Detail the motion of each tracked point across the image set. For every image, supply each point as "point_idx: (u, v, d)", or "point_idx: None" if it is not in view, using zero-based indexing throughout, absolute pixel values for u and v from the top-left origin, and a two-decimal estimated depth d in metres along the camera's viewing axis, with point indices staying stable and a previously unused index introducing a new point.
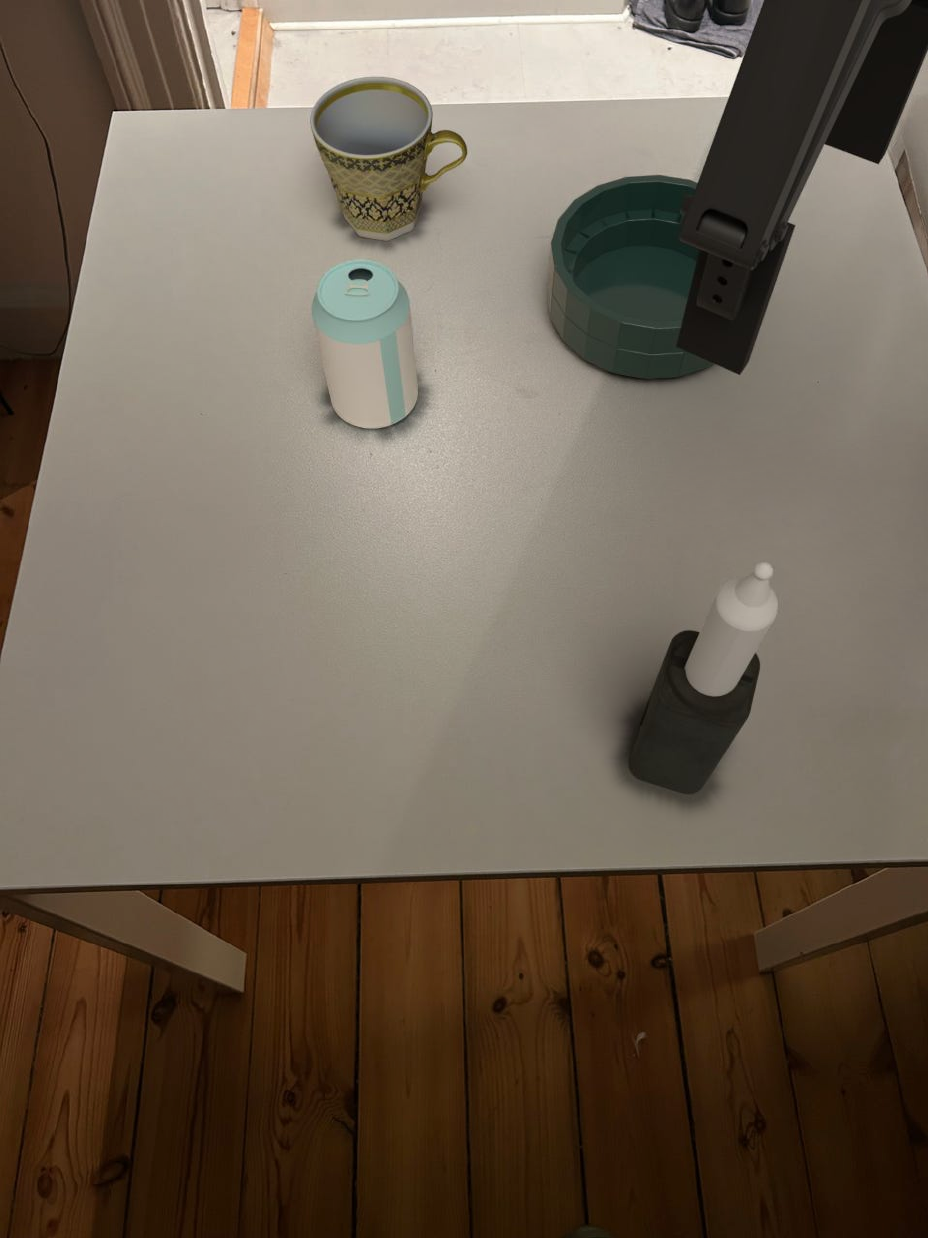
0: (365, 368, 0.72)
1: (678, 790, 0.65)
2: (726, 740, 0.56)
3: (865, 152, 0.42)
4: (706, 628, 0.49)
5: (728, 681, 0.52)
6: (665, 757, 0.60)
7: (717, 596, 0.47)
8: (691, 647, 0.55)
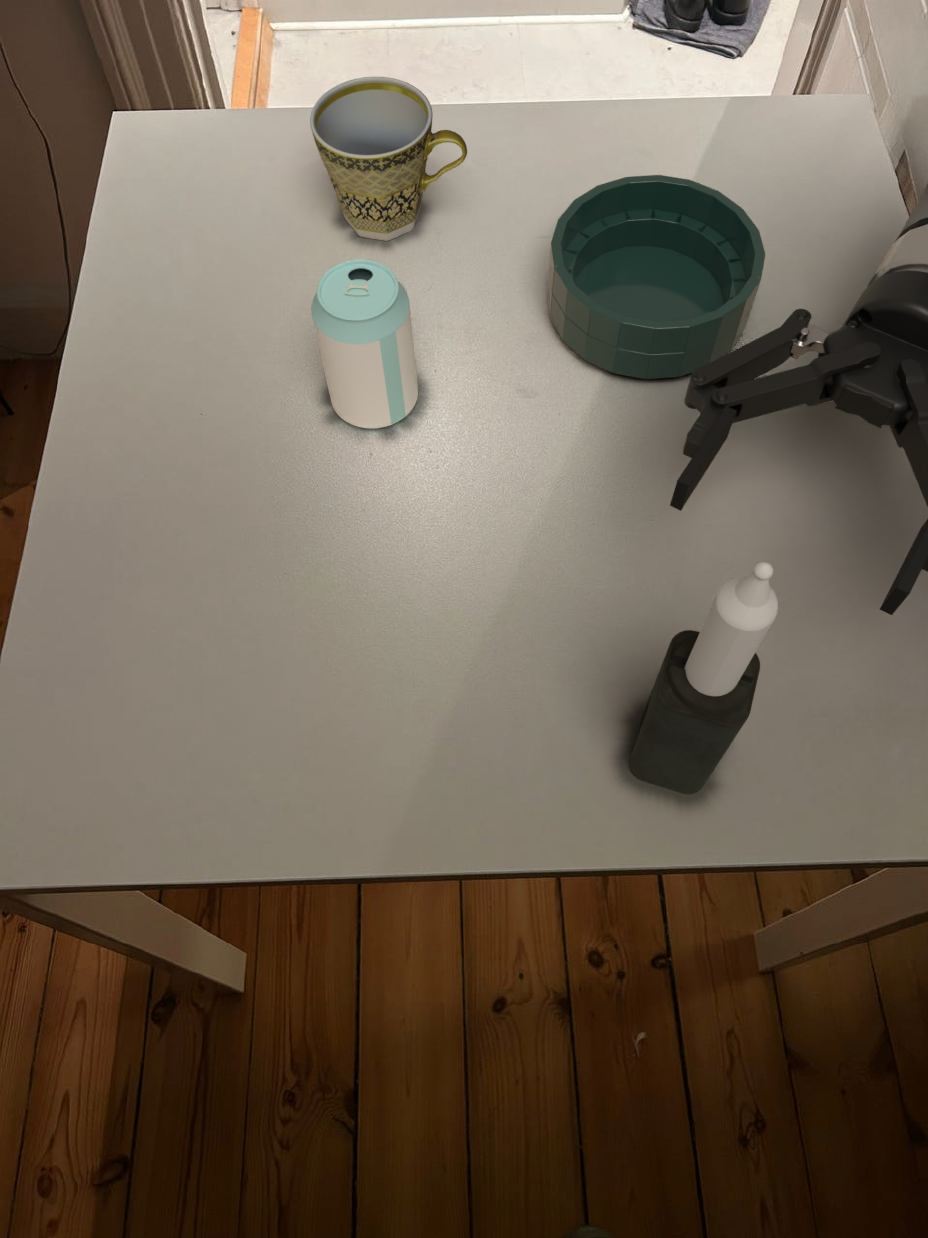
0: (365, 368, 0.72)
1: (678, 790, 0.65)
2: (726, 740, 0.56)
3: (894, 589, 0.56)
4: (706, 628, 0.49)
5: (728, 681, 0.52)
6: (665, 757, 0.60)
7: (717, 596, 0.47)
8: (691, 647, 0.55)
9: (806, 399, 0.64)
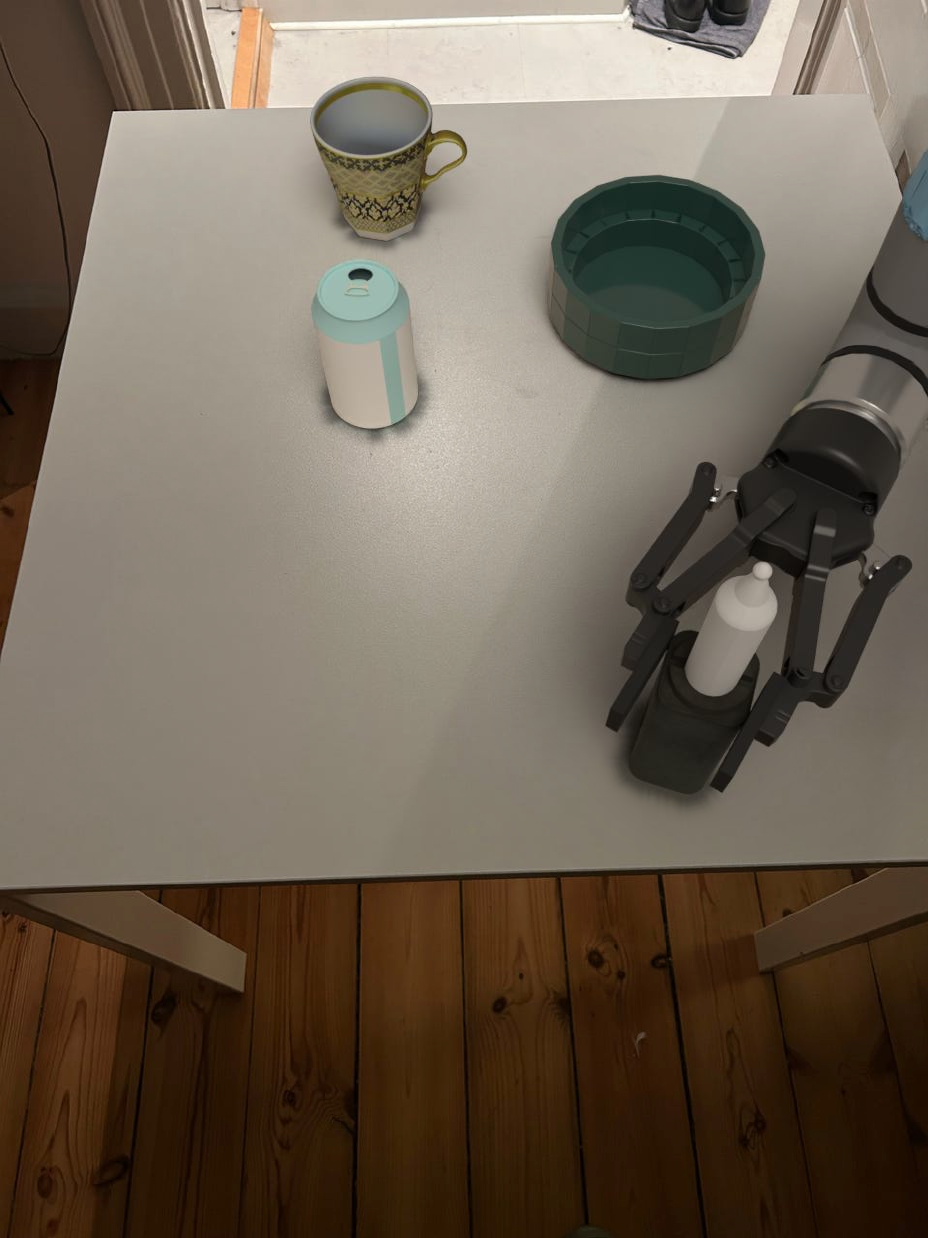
0: (365, 368, 0.72)
1: (678, 790, 0.65)
2: (726, 740, 0.56)
3: (719, 769, 0.51)
4: (705, 628, 0.49)
5: (727, 681, 0.52)
6: (665, 757, 0.60)
7: (716, 596, 0.47)
8: (691, 647, 0.55)
9: (738, 564, 0.58)
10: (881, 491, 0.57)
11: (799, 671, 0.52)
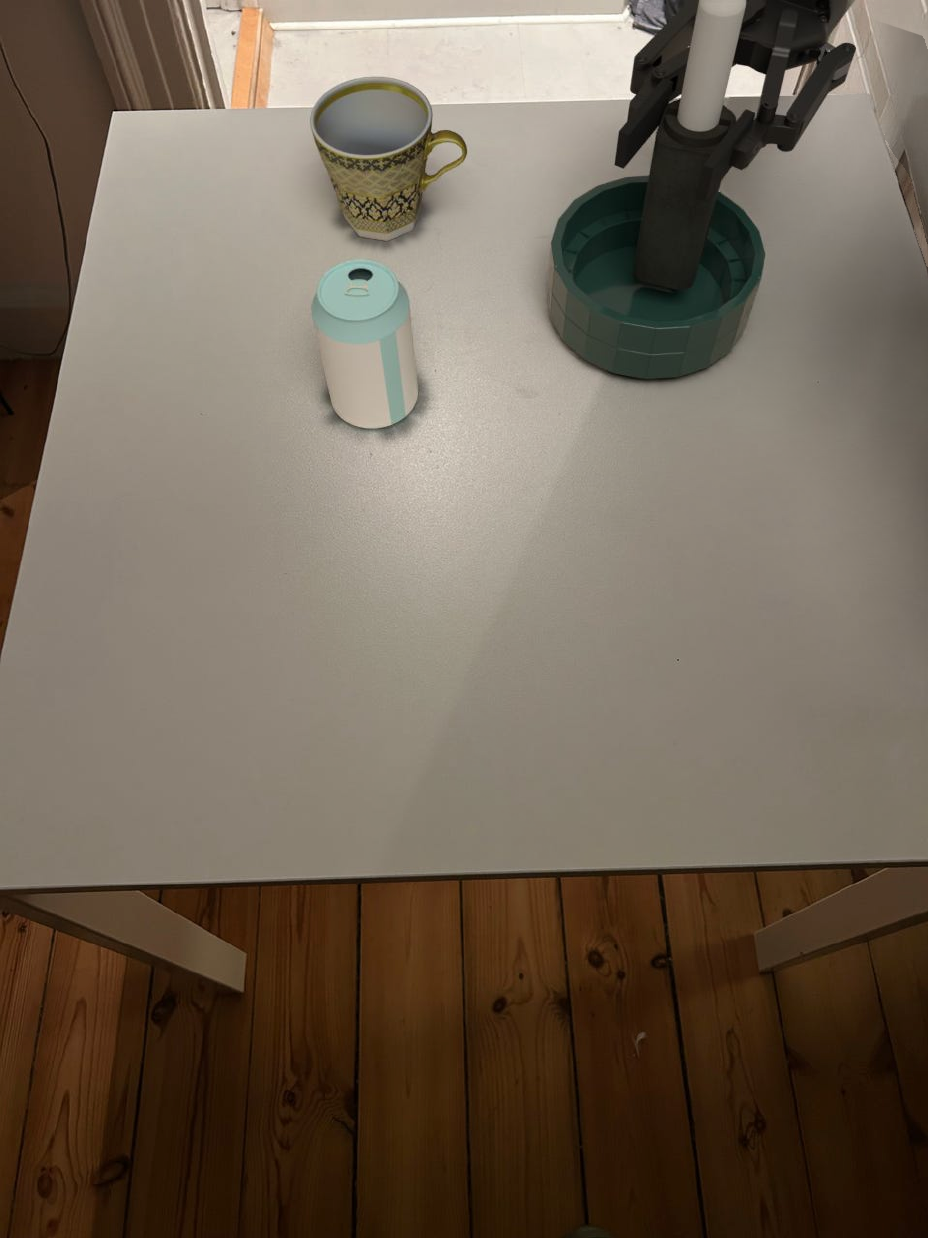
0: (365, 368, 0.72)
1: (672, 285, 0.80)
2: None
3: (703, 170, 0.67)
4: (692, 40, 0.64)
5: (709, 104, 0.67)
6: (662, 230, 0.75)
7: None
8: None
9: None
10: (833, 0, 0.73)
11: (765, 104, 0.68)
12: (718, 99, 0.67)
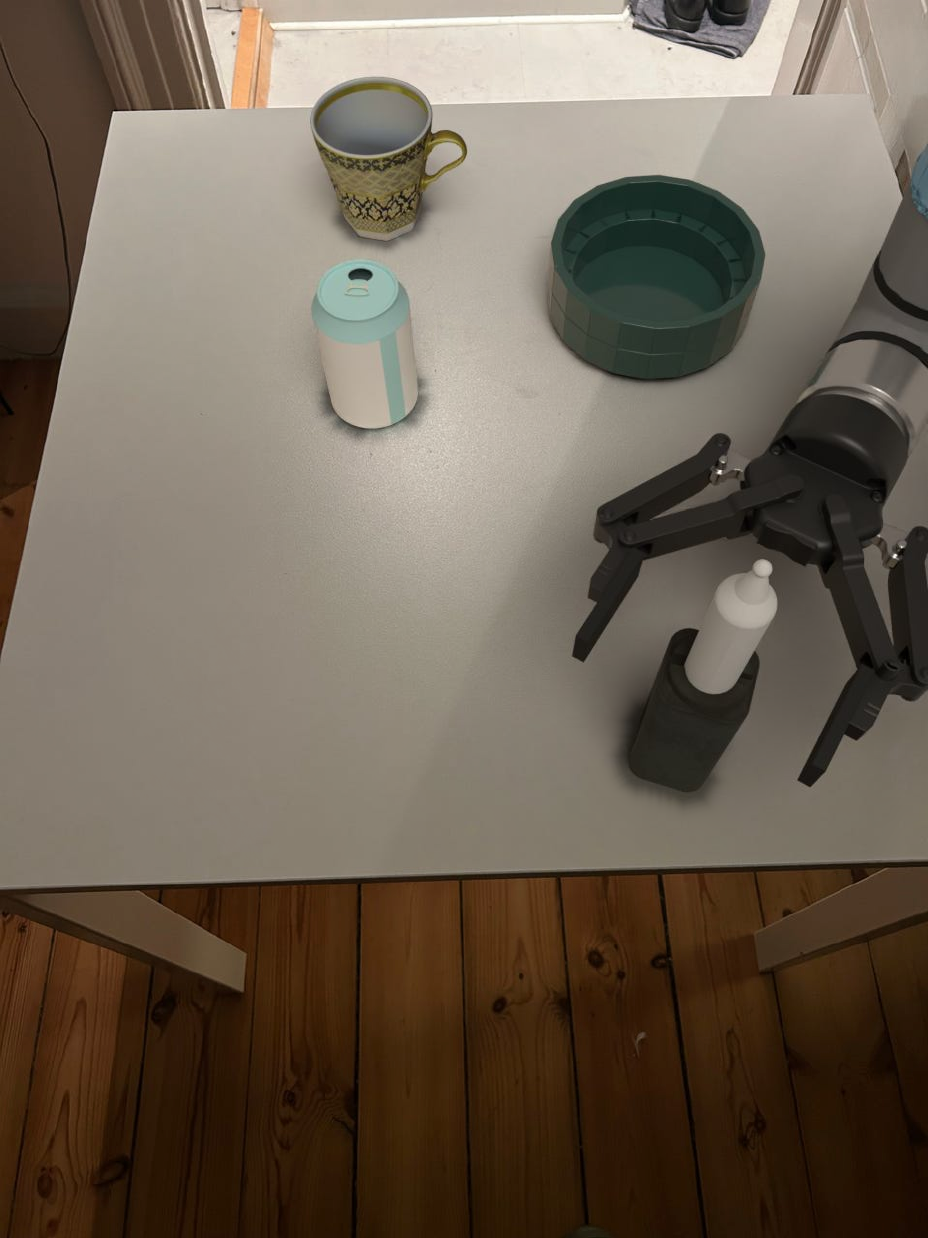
0: (365, 368, 0.72)
1: (678, 788, 0.65)
2: (725, 738, 0.56)
3: (809, 763, 0.50)
4: (705, 626, 0.49)
5: (727, 678, 0.52)
6: (665, 755, 0.60)
7: (716, 594, 0.47)
8: (691, 645, 0.55)
9: (725, 533, 0.58)
10: (889, 478, 0.57)
11: (890, 665, 0.51)
12: (738, 673, 0.52)
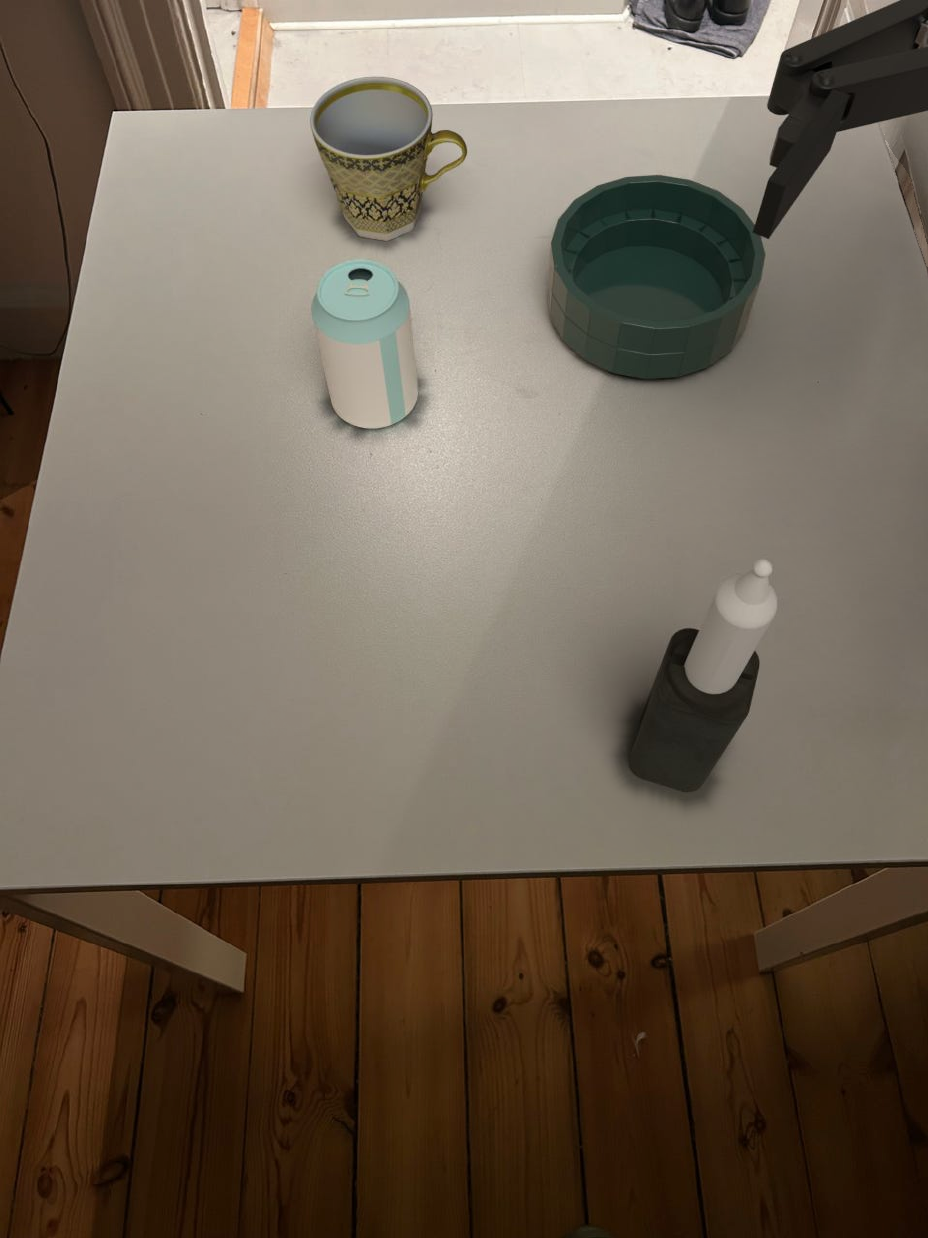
0: (365, 368, 0.72)
1: (678, 788, 0.65)
2: (725, 738, 0.56)
3: None
4: (705, 626, 0.49)
5: (727, 678, 0.52)
6: (665, 755, 0.60)
7: (716, 594, 0.47)
8: (691, 645, 0.55)
9: None
10: None
11: None
12: (738, 673, 0.52)
